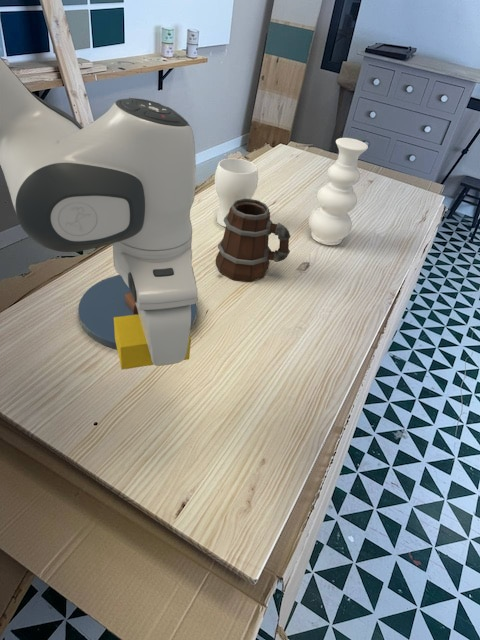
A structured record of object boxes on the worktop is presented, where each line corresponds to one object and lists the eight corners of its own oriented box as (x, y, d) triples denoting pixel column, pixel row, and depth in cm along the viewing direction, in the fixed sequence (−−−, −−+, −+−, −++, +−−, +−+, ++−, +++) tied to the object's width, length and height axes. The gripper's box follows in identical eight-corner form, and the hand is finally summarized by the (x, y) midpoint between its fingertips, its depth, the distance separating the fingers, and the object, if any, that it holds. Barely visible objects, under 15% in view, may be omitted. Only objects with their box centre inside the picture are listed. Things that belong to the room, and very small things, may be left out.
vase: (328, 254, 115) (356, 154, 99) (296, 234, 121) (318, 137, 105) (355, 243, 121) (385, 147, 105) (323, 224, 127) (348, 131, 111)
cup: (231, 208, 128) (238, 154, 118) (259, 224, 122) (268, 169, 113) (202, 218, 121) (207, 162, 112) (230, 235, 116) (237, 178, 107)
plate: (85, 360, 78) (85, 354, 77) (73, 284, 94) (73, 278, 93) (210, 341, 86) (211, 335, 85) (180, 273, 101) (180, 268, 100)
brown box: (133, 314, 86) (133, 306, 85) (124, 302, 89) (124, 294, 88) (153, 308, 88) (153, 300, 87) (144, 297, 91) (143, 288, 90)
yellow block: (121, 370, 60) (120, 347, 58) (115, 339, 64) (113, 317, 62) (189, 359, 63) (191, 337, 61) (178, 330, 67) (180, 309, 65)
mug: (208, 273, 102) (214, 211, 93) (227, 248, 112) (234, 189, 102) (276, 293, 100) (290, 231, 90) (290, 265, 109) (303, 207, 99)
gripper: (111, 211, 60) (116, 296, 69) (140, 309, 46) (142, 401, 54) (160, 209, 62) (159, 292, 71) (202, 301, 48) (194, 391, 57)
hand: (151, 340), depth 63 cm, fingers closed on yellow block, 6 cm apart
